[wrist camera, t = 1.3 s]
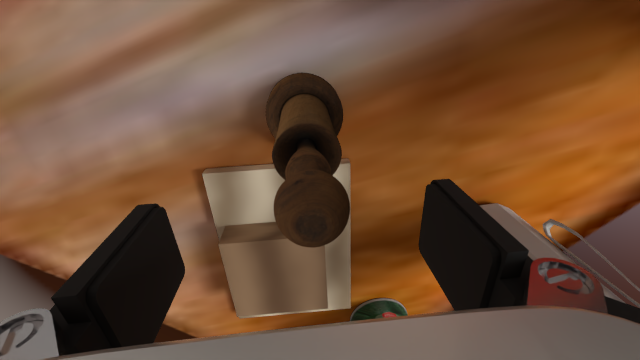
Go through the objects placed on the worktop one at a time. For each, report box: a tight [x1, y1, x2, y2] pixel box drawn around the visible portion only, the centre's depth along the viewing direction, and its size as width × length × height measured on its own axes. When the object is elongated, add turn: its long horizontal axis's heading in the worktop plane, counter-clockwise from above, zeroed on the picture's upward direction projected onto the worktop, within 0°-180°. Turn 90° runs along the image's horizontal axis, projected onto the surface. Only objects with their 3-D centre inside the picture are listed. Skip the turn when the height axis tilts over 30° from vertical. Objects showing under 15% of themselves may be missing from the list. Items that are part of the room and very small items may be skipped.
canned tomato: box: [350, 298, 408, 321], centre depth 35 cm, size 8×8×11 cm
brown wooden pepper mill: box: [266, 73, 350, 248], centre depth 18 cm, size 7×6×18 cm
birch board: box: [202, 159, 351, 318], centre depth 32 cm, size 14×20×1 cm
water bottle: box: [479, 203, 640, 307], centre depth 22 cm, size 9×8×25 cm
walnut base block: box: [218, 222, 328, 317], centre depth 31 cm, size 10×10×3 cm
